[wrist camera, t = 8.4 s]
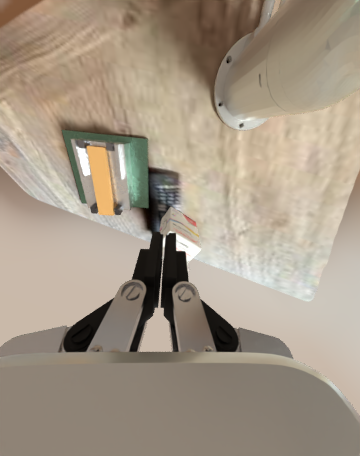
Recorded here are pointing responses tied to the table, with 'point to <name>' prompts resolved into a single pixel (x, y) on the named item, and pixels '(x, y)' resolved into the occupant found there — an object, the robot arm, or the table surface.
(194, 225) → the ink cartridge box
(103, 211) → the orange wooden bar
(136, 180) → the board
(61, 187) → the table surface
